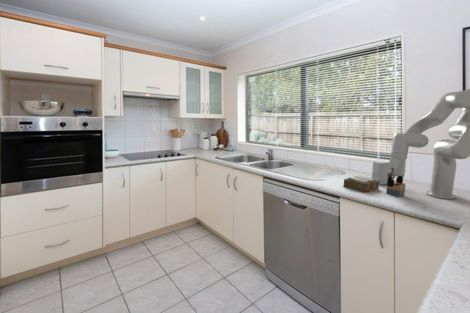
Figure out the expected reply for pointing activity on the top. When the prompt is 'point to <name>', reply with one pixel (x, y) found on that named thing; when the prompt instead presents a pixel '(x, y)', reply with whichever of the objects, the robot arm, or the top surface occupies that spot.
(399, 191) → the block
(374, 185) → the walnut stand
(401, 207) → the top surface
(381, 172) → the skincare box
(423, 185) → the top surface
